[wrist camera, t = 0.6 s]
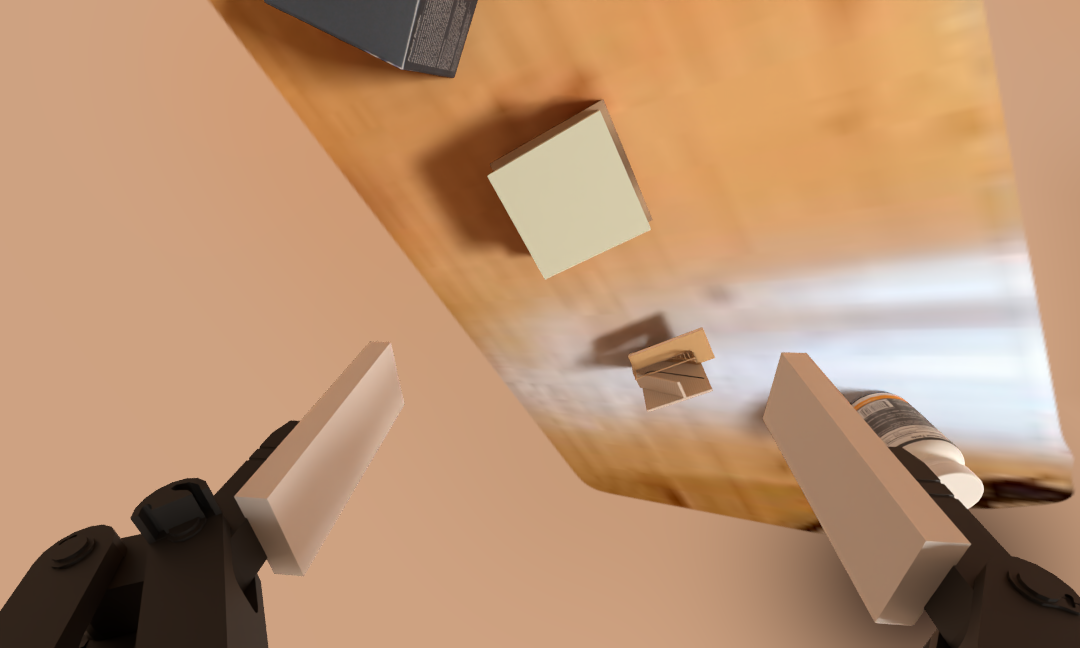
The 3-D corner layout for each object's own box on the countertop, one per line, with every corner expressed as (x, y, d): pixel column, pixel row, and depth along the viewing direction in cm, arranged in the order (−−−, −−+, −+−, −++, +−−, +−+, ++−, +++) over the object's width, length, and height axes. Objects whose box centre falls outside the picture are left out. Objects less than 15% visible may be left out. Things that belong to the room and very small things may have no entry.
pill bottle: (893, 437, 43) (972, 524, 34) (832, 433, 43) (895, 518, 34) (916, 391, 40) (1008, 472, 31) (851, 387, 41) (924, 466, 32)
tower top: (498, 167, 31) (487, 175, 28) (598, 109, 29) (599, 110, 25) (549, 261, 34) (544, 279, 30) (644, 215, 32) (651, 229, 28)
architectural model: (623, 337, 41) (629, 382, 35) (693, 310, 39) (714, 351, 32) (636, 365, 42) (645, 413, 36) (705, 339, 40) (728, 385, 34)
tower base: (499, 158, 35) (489, 164, 31) (601, 99, 32) (603, 99, 28) (549, 254, 38) (545, 269, 34) (646, 208, 35) (652, 219, 32)
